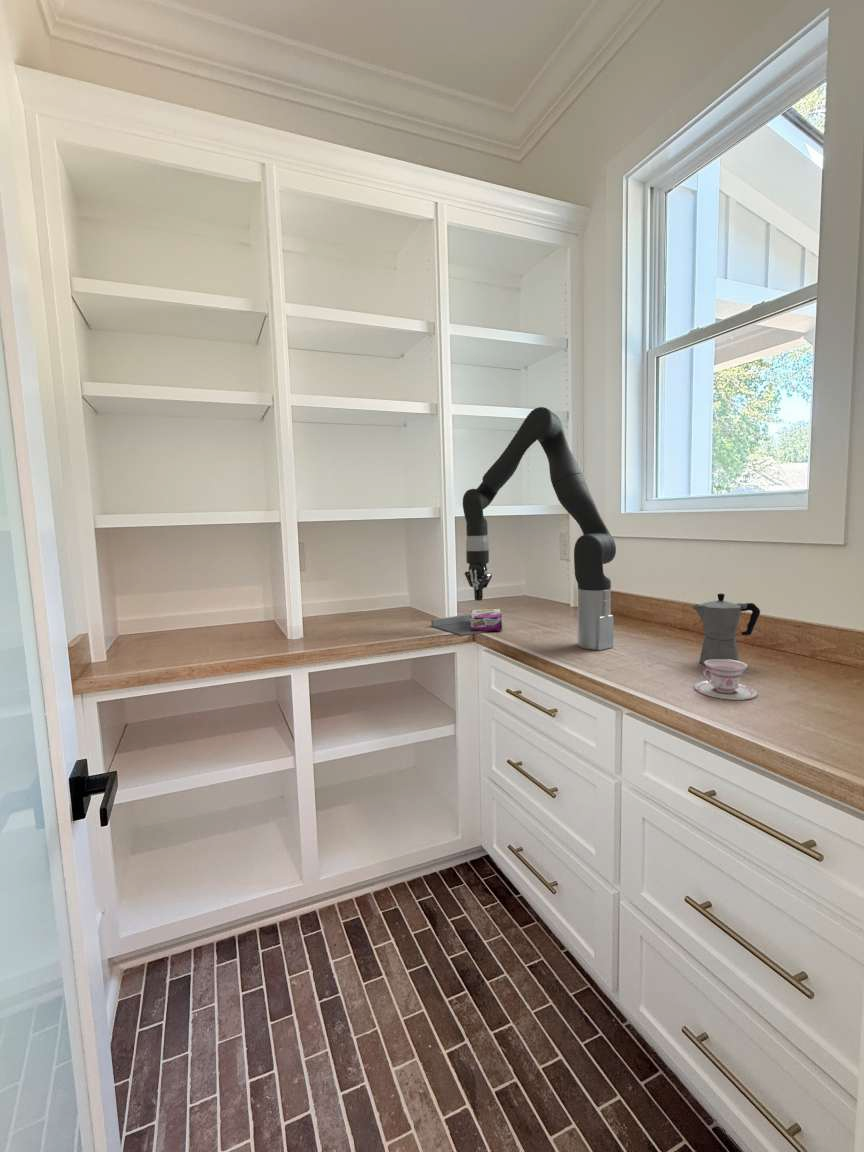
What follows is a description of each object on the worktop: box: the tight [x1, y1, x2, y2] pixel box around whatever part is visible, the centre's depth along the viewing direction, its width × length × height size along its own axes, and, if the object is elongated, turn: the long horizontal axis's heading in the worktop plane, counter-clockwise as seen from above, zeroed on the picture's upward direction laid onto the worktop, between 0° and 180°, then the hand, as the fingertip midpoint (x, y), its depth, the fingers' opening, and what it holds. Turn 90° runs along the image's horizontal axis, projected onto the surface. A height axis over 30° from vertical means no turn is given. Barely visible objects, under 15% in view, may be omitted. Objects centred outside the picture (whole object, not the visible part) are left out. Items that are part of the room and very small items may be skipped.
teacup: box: [693, 659, 758, 701], centre depth 115 cm, size 12×12×6 cm
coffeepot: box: [691, 593, 761, 665], centre depth 134 cm, size 15×9×18 cm, turn 74°
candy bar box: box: [469, 608, 503, 632], centre depth 188 cm, size 11×5×16 cm
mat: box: [430, 614, 487, 637], centre depth 188 cm, size 20×16×2 cm
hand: (478, 600), depth 179 cm, fingers closed
